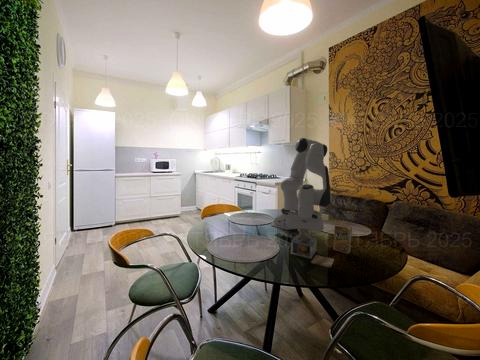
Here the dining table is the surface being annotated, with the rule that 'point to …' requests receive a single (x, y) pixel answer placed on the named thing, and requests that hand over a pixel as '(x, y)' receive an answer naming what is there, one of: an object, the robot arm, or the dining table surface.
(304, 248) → the glossy orange ball
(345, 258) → the dining table surface
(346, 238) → the candy box
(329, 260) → the cork pad
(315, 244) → the guard box
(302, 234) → the beige square bar
